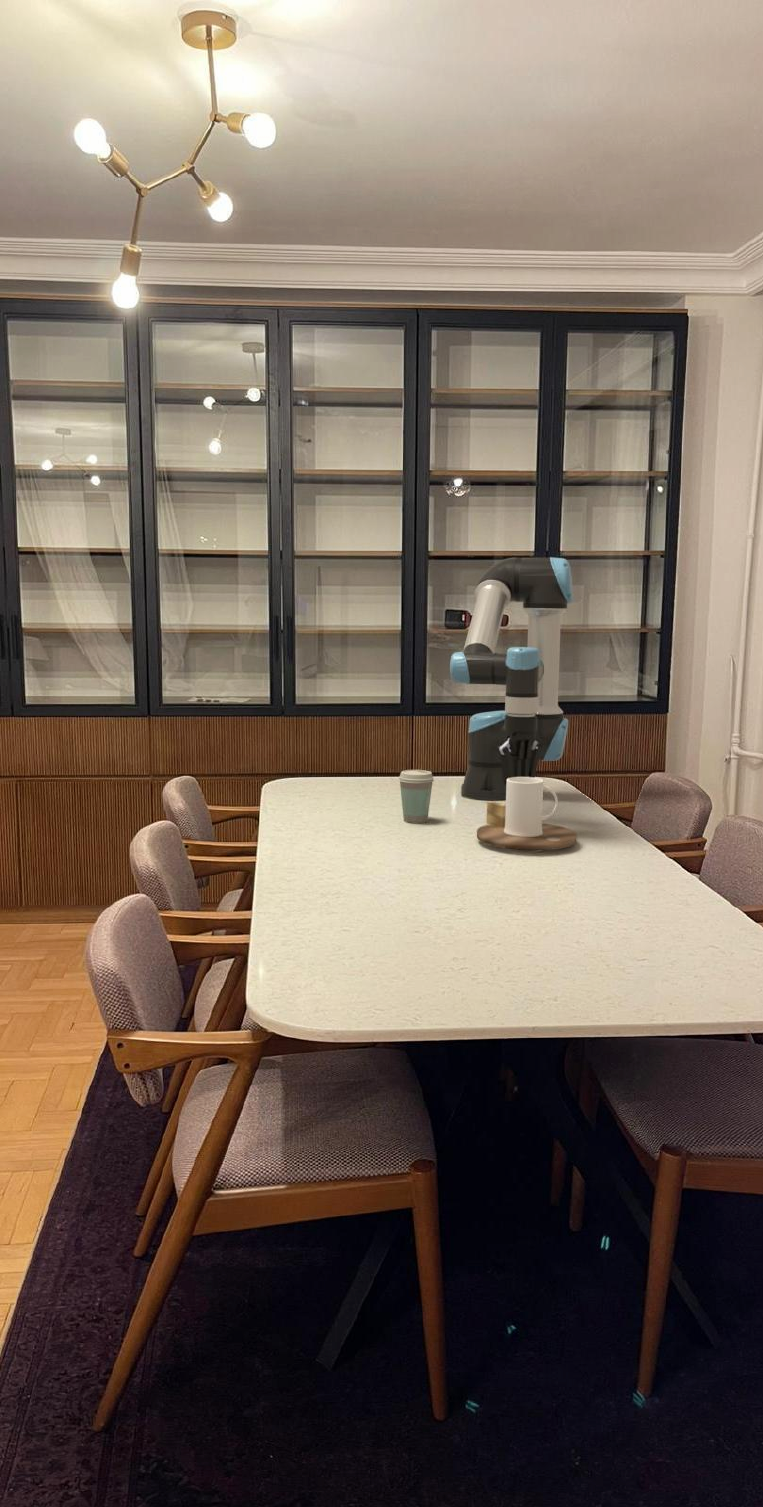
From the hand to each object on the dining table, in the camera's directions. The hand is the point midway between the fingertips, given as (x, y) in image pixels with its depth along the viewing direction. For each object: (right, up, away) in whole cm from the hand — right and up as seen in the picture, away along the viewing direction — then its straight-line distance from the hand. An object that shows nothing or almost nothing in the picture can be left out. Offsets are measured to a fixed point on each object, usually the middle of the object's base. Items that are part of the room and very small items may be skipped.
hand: (517, 815), depth 243 cm
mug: (+1, -3, -12) cm, 13 cm away
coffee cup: (-24, -2, +11) cm, 26 cm away
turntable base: (0, -6, -11) cm, 12 cm away
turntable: (0, -4, -11) cm, 12 cm away
